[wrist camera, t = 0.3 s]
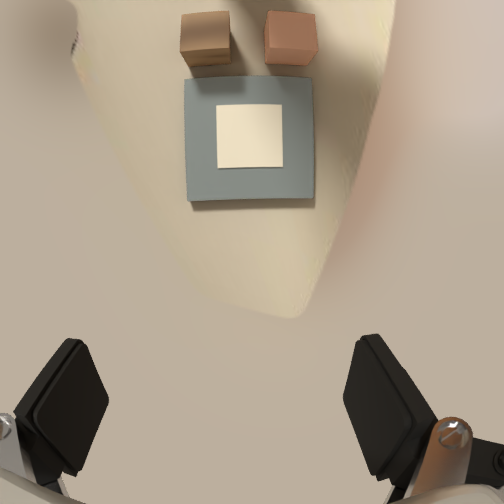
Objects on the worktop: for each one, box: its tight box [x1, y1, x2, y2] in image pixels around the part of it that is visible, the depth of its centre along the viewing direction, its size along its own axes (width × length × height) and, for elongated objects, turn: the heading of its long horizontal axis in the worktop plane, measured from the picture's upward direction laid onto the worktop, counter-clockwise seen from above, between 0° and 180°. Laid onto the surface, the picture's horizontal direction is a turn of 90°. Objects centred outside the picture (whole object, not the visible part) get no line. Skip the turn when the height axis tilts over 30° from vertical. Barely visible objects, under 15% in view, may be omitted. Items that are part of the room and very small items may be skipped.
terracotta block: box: [264, 11, 318, 66], centre depth 27 cm, size 6×6×6 cm
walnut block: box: [180, 11, 230, 67], centre depth 27 cm, size 6×6×6 cm
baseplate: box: [184, 76, 314, 201], centre depth 33 cm, size 16×16×1 cm
